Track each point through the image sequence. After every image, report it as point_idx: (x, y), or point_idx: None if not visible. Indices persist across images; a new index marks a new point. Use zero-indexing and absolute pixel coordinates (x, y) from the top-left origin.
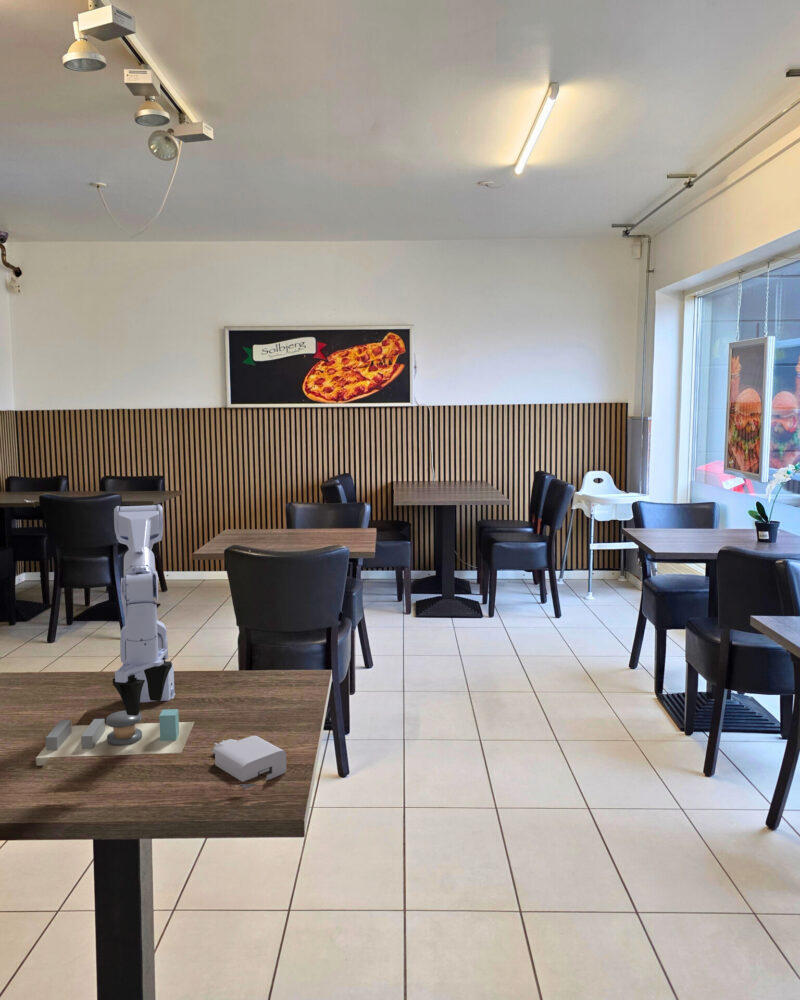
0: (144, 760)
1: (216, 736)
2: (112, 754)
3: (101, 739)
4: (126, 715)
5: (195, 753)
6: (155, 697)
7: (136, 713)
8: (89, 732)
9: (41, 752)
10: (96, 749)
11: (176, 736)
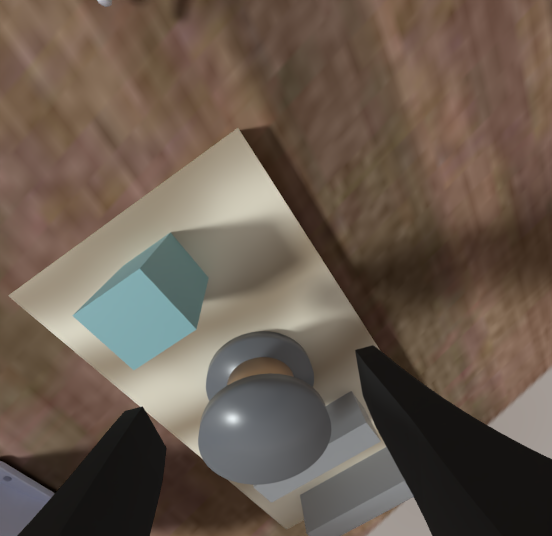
0: None
1: (2, 161)
2: (358, 322)
3: None
4: (252, 440)
5: (166, 124)
6: (147, 441)
7: (382, 352)
8: (350, 445)
9: None
10: (350, 380)
11: (162, 239)
